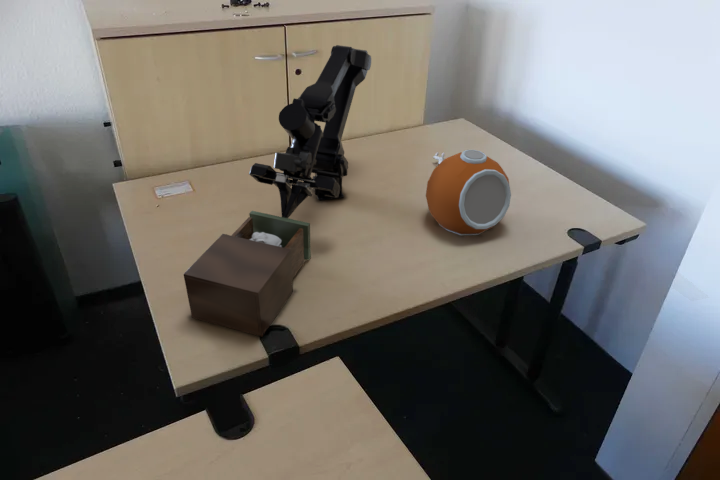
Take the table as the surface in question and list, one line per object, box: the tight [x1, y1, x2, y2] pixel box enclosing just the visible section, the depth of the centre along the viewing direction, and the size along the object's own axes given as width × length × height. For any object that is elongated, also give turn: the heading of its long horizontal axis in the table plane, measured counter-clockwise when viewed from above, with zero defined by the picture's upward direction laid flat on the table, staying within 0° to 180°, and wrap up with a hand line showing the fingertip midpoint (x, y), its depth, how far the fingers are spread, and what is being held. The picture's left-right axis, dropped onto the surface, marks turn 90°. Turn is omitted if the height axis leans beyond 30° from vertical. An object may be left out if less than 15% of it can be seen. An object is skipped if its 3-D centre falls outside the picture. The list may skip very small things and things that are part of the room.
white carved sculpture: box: [250, 232, 282, 247], centre depth 108 cm, size 6×7×7 cm
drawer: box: [231, 210, 312, 280], centre depth 110 cm, size 17×13×9 cm
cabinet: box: [183, 233, 294, 338], centre depth 99 cm, size 13×14×10 cm
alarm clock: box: [425, 149, 512, 236], centre depth 124 cm, size 19×18×17 cm
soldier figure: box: [432, 151, 445, 165], centre depth 147 cm, size 8×5×12 cm
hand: (284, 219), depth 112 cm, fingers closed
